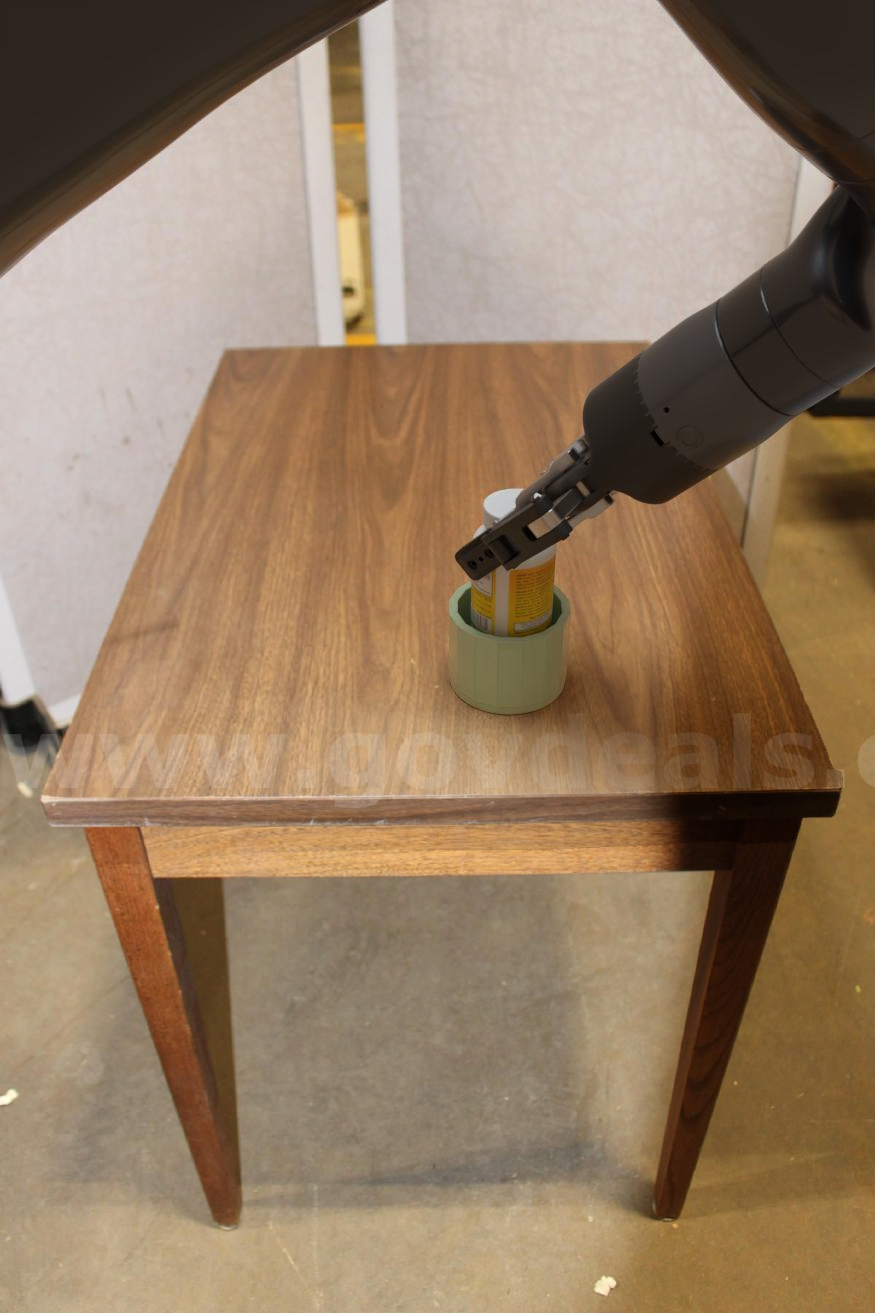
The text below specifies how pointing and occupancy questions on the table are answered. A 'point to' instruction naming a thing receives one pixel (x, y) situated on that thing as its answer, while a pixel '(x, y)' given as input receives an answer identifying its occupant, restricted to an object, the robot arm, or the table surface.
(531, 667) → the holder
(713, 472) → the robot arm
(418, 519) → the table surface
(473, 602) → the supplement bottle
